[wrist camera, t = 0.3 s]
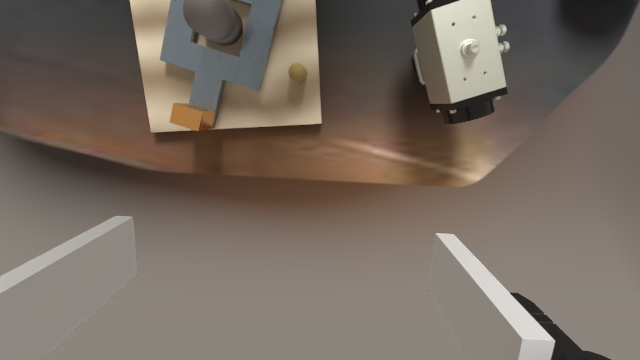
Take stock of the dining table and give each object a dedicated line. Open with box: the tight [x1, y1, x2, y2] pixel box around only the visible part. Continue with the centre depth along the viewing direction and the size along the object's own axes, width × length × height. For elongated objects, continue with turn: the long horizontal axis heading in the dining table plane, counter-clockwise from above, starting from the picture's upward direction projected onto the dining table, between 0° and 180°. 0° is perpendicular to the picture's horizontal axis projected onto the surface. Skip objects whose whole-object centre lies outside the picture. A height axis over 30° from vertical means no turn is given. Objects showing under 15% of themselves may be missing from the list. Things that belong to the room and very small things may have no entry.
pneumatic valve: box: [411, 0, 509, 124], centre depth 32 cm, size 6×12×12 cm, turn 17°
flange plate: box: [160, 0, 283, 131], centre depth 34 cm, size 16×11×5 cm, turn 163°
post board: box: [130, 0, 322, 133], centre depth 34 cm, size 22×20×7 cm
